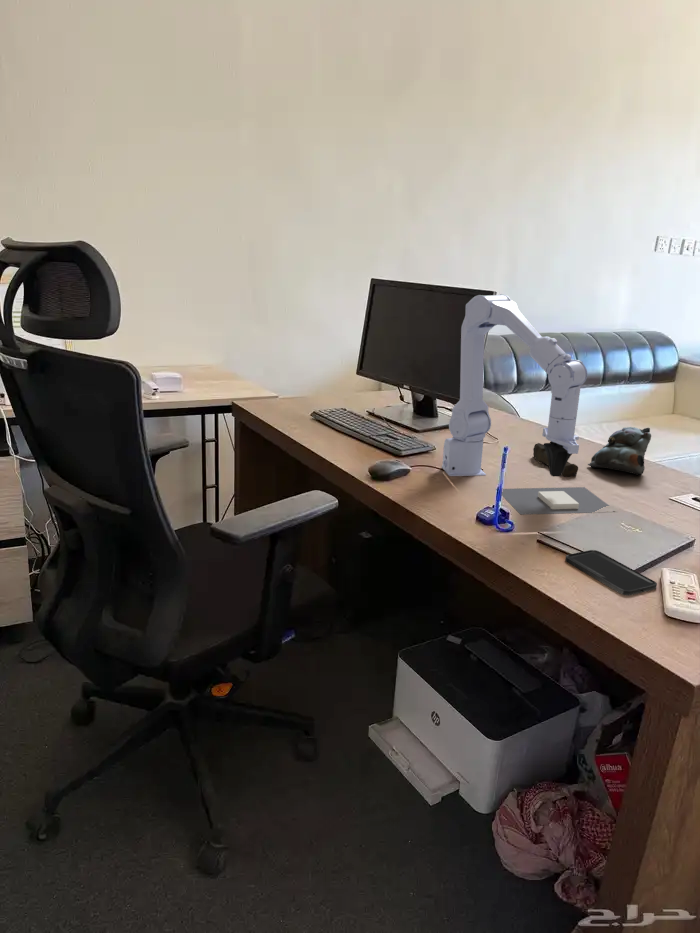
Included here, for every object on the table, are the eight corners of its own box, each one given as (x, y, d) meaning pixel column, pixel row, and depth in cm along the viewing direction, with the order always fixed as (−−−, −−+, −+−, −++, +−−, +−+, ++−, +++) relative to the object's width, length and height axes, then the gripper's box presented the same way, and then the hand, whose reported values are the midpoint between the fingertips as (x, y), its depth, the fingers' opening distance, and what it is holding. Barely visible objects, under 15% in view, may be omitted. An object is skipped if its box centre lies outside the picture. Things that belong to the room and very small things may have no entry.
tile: (537, 496, 155) (552, 509, 147) (538, 491, 154) (552, 504, 147) (562, 496, 155) (578, 509, 148) (563, 491, 155) (579, 503, 147)
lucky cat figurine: (578, 464, 180) (595, 416, 181) (615, 480, 183) (631, 433, 184) (614, 465, 165) (632, 412, 167) (653, 483, 168) (670, 431, 169)
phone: (595, 549, 127) (660, 584, 114) (594, 554, 127) (658, 590, 115) (562, 555, 124) (625, 592, 111) (561, 561, 124) (624, 598, 111)
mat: (520, 516, 144) (520, 514, 144) (495, 490, 159) (495, 488, 159) (617, 513, 147) (617, 511, 147) (584, 488, 162) (584, 487, 162)
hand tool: (577, 479, 170) (580, 461, 168) (563, 479, 169) (565, 462, 167) (542, 457, 187) (544, 441, 186) (529, 457, 186) (531, 441, 185)
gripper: (595, 424, 142) (587, 485, 146) (566, 408, 155) (558, 465, 159) (563, 424, 141) (555, 486, 145) (536, 409, 154) (530, 465, 159)
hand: (555, 475), depth 152 cm, fingers closed
